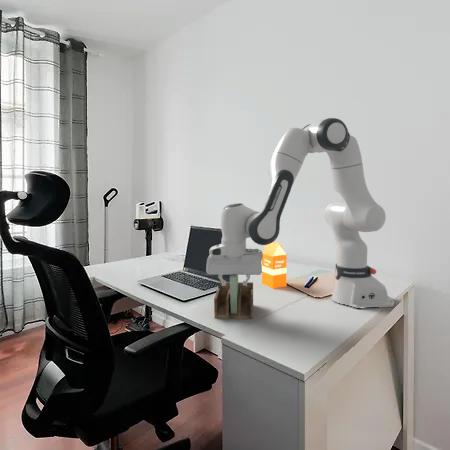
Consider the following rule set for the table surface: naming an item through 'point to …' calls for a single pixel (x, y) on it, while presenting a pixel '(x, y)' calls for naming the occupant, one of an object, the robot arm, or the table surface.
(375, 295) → the robot arm
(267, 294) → the table surface
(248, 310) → the file sorter
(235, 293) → the board
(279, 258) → the orange juice
